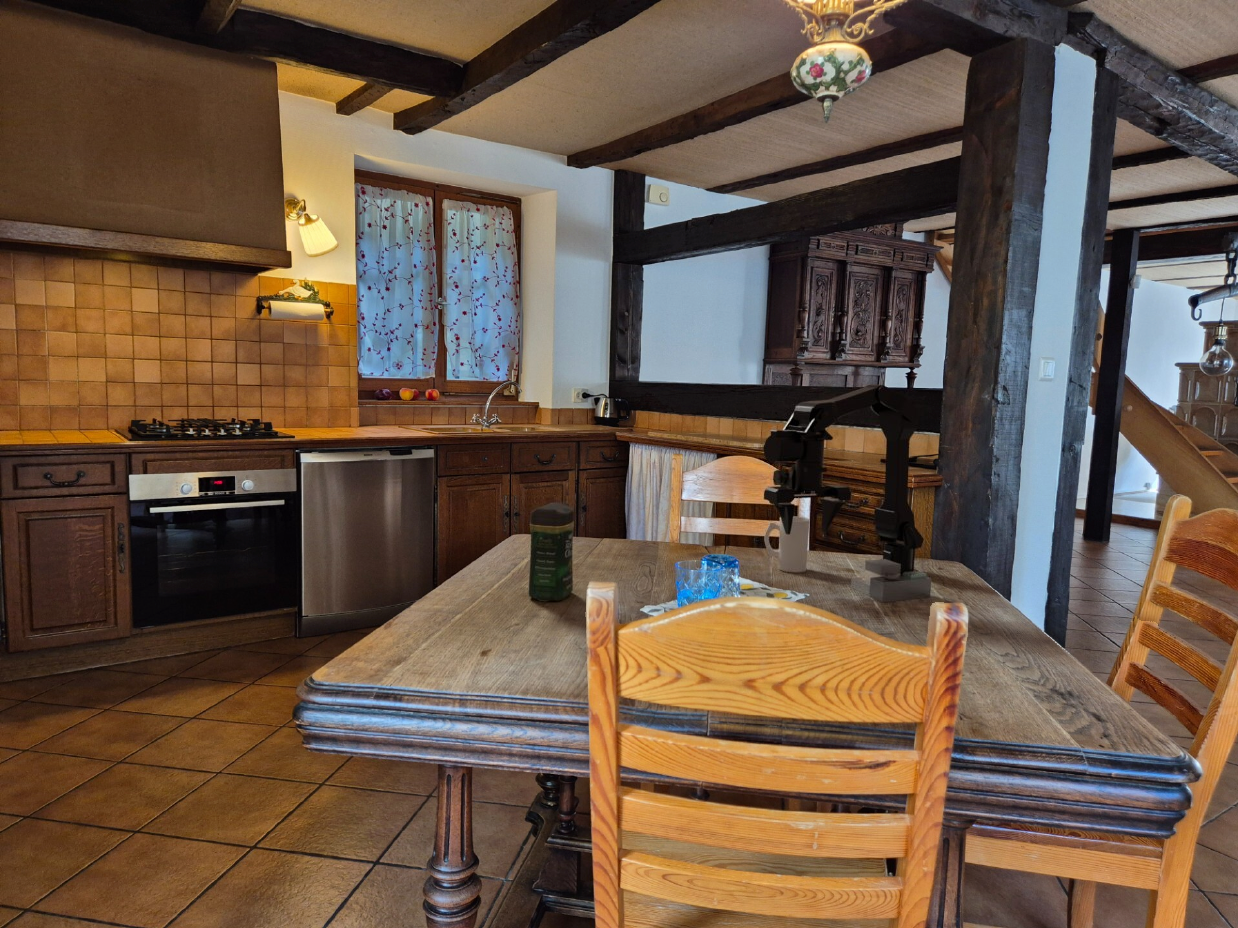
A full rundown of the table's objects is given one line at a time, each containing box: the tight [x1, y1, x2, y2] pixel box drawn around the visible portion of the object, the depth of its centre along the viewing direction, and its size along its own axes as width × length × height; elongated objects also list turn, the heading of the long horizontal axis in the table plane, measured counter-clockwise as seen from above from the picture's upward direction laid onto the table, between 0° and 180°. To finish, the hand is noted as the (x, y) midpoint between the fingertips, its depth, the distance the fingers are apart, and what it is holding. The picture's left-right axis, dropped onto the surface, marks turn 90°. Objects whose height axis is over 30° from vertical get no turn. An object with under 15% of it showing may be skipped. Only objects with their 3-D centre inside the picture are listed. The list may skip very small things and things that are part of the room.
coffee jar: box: [528, 502, 575, 602], centre depth 151 cm, size 10×8×19 cm
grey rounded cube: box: [863, 558, 901, 583], centre depth 161 cm, size 5×5×6 cm
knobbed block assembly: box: [850, 570, 932, 603], centre depth 159 cm, size 11×12×5 cm
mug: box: [763, 515, 810, 574], centre depth 177 cm, size 10×7×12 cm, turn 78°
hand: (806, 533), depth 164 cm, fingers open, 9 cm apart
